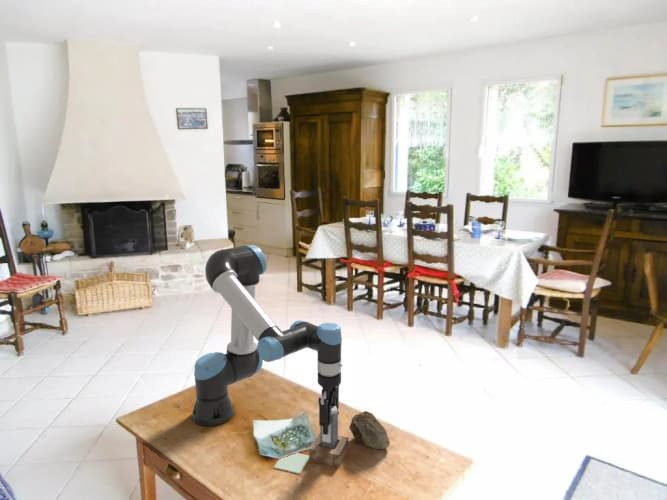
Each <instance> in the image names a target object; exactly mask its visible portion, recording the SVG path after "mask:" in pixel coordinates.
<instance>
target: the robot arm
mask: <svg viewBox="0 0 667 500" xmlns="http://www.w3.org/2000/svg"><path fill="white" fill-rule="evenodd" d="M266 258H267V257H266V256H265V254H264V253H263V250H262V249H261V248H260V247H259V246H257V245H255V244H248V245H246V244H244V245H240V246H236V247H230V248H225V249H224V248H222V249H219V250H217V251H215V252H214V253H213V254H210V256H209V258H207V261H206V264H205V268H204V270H205V271H204V272H205V273H204V274H205V278H206V281H207V284H208V285H209V287H210V288H211V289H212V290H213V292H215V293H216V294H219V295H220V296H221V298H223V299H224V301H225V302H226V303H227V304H228V305H229V306H230V308H231V313H230V314H231V316H230V318H231V321H230V323H231V324H230V342H228V344H227V345H226V353H223V352H219V351H214V352H209V353H206V354H204V355H202V356H200V357H199V358H198V359H197V360H196V361H195V364H194V383H195V396H196V399H195V402H194V405H193V409H192V420H193V422H194V423H195V424H197V425H199V426H203V427H213V426H215V427H216V426H219V425H221V424H225V423H226V422H228V421H230V420H231V419H232V417H233V416H234V412H235V411H234V404H233V402H232V401H231V398H230V395H229V388H228V387H229V386H231V385H233V384H235V383H238V382H240V381H242V380H245V379H247V378H248V379H249V378H251V377H252V376H255V375H256V374H257V373H259V372H260V371H261V369H262V367H263V362H266V363H270V362H274V361H277V360H281V359H282V358H284V357H286V356H288V355H289V356H290V355H291V354H294V353H297V352H299V351H301V350H304V349H310V350H312V351H315V352H317V366H316V367H317V384H318V386H320V387H321V388H322V389H321V397H318V408H319V409H318V416H319V417H318V418H319V419H318V421H319V422H318V425H319V427H320V426H322V441H323V442H328V443H330V442H331V424H330V413H331V405H333V406H336V407H337V409H338V415H339V414H340V411H339V401H340V399H339V395H340V392H339V391H340V385H341V383H342V372H341V371H342V367H343V363H342V342H343V341H342V340H343V337H342V328H341V326H340V325H339V324H336V323H334V322H324V323H321V324H319V325H315V324H313V323H310V322H308V321H305V320H295V321H294V322H293V324H290V327H289V328H288V329H285V330H281V329H280V327H278V325H276V324H275V321H273V320H272V318H271V317H270V316H269V314H267V312H266V311H265V310H264V309H263V307H261V305H260V304H259V303H258V302H257V300H256V286H257V285H258V284H259V283H260V275H263V274H264V273H265V272H266V271H267V265H268V264H267V259H266ZM254 338H255V339H256V340H257V341H258V342H257V343H256V342H255V341H254Z"/></svg>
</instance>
